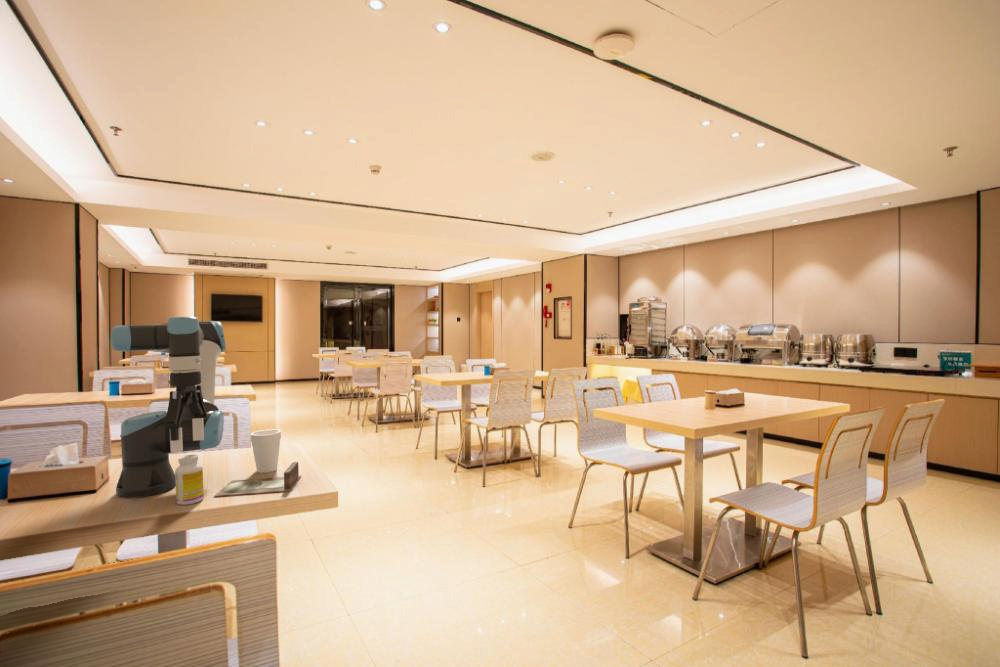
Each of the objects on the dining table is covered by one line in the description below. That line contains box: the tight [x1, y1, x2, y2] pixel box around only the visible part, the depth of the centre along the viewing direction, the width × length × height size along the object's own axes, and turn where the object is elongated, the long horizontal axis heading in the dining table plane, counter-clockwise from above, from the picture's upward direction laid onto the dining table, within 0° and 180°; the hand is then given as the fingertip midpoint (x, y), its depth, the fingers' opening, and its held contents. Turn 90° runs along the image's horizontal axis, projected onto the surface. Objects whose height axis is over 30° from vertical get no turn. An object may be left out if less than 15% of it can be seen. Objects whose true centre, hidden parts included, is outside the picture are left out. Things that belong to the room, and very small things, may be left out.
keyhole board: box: [213, 461, 302, 498], centre depth 152 cm, size 21×14×5 cm, turn 99°
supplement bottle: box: [174, 454, 205, 506], centre depth 141 cm, size 7×7×13 cm
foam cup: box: [250, 428, 282, 474], centre depth 169 cm, size 10×9×13 cm
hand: (188, 445), depth 140 cm, fingers open, 13 cm apart
